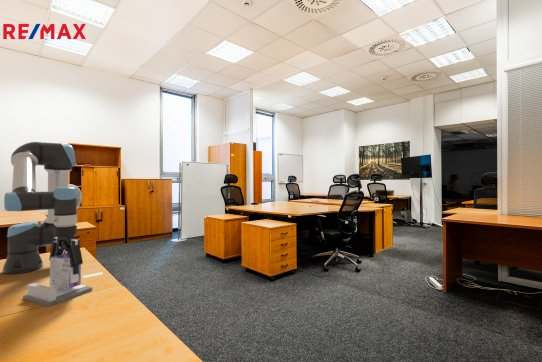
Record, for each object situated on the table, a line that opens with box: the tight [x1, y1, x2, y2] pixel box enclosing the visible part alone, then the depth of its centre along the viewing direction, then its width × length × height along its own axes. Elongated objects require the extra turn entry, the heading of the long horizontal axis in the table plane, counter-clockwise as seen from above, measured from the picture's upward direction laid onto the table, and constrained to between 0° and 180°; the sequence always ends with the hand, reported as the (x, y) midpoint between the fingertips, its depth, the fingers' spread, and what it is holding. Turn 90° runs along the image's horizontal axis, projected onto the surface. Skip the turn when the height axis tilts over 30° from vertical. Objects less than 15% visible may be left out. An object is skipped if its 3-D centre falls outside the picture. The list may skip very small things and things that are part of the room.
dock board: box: [22, 282, 93, 307], centre depth 110 cm, size 16×16×5 cm
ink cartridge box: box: [49, 250, 82, 289], centre depth 112 cm, size 10×6×14 cm, turn 78°
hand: (65, 280), depth 112 cm, fingers closed on ink cartridge box, 10 cm apart
